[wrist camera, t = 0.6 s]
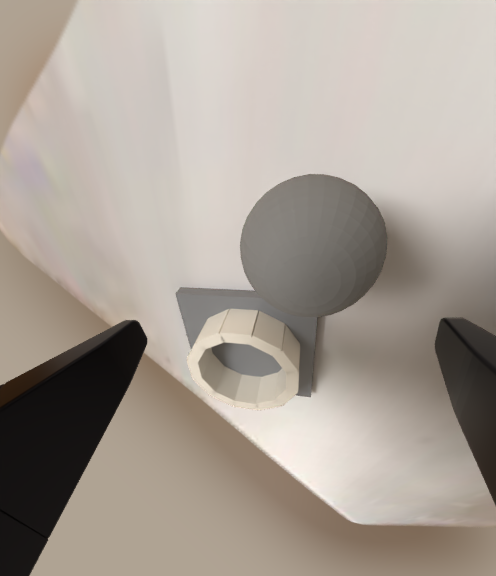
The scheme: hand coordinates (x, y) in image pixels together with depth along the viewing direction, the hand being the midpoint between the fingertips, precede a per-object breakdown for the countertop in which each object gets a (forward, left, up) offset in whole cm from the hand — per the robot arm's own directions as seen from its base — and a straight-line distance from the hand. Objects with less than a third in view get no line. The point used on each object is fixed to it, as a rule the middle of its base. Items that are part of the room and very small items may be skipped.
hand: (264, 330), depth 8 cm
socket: (+4, +12, -12) cm, 18 cm away
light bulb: (-1, -1, -12) cm, 12 cm away
